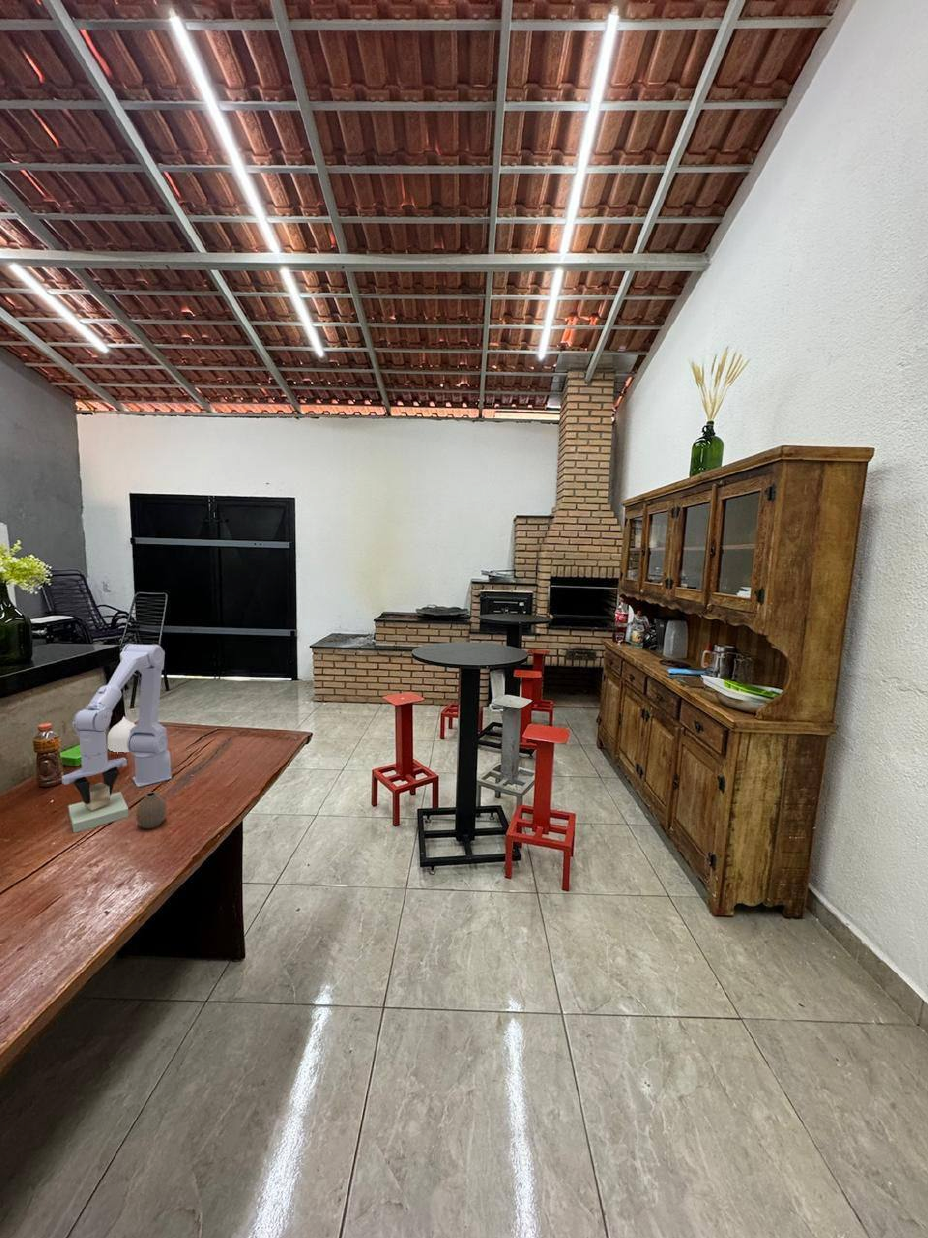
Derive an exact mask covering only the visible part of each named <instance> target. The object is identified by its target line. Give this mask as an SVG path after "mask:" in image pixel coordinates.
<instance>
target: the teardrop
mask: <svg viewBox="0 0 928 1238" xmlns="http://www.w3.org/2000/svg"><path fill="white" fill-rule="evenodd" d="M135 724H136V723H134V722H132V721H130V720H129V719H127V718H126V717H125V716H123V717H122V719H121V720H120V721H118V722H117V723H116V724H115V725H113V726H112V727H111V729H110V730H109V732H108V734H107V736H106V739H107V750H108V749H109V750H110V751H113V752H117V753H116V754H119V753H118V752H124V753H128V752H129V753H131V752H130V751H129V750H128V748H127V740H128V738H129V735H130V730H131V729H132V728H133V727H135V726H136V725H137V724H136V725H135Z"/></svg>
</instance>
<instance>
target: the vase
mask: <svg viewBox="0 0 928 1238" xmlns="http://www.w3.org/2000/svg"><path fill="white" fill-rule="evenodd" d="M167 811H168V810H167V804H166V802H165V800H164V799H162V798H161V797H160V796H159V795H157V793H156V792H153V791H152V792H148V793H146V794H145V795H144V798H143V799H141V802H140V803H139V804H138V806H137V809H136V812H135V813H136V815H135V817H136V820H137V823H138V825H139V826H141V827H142V828H144V829H154V828H156V827H159V826H160V825H161V824H162V823H163V822H164V821H165V819H166V816H167Z"/></svg>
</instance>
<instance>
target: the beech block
mask: <svg viewBox="0 0 928 1238" xmlns="http://www.w3.org/2000/svg"><path fill="white" fill-rule="evenodd" d="M89 796H90V803H89V804H86V803H84V806H86V807H87V808H89V809H90V810H94V809H97V808H100V807H102V806H105V805H108V804H110V790H109V786H107V785H106V784H104V782H103V781H101V782H98V783H95V784H93V785H90V787H89Z"/></svg>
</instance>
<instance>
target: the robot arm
mask: <svg viewBox="0 0 928 1238" xmlns="http://www.w3.org/2000/svg"><path fill="white" fill-rule="evenodd" d="M165 655H166V652H165V650H164V649H163V648H162V646H160V645H159V644H154V645H151V644H133V643H127V644H126V645H125V646H124V647H122V651H121V652H120V653H119V660H120V663H119V664H118V666H117V667H116V669H115V670H114V673H113V674H112V676H111V678H110V679H109V682H108V683H107V684H106V685H102V686H100V687H99V689H98V690H97V691H96V693H95V694H94V695H93V697H92V699H91V700H90V701H89V703H88V704H87V706H86V707H85V708H82V709H81V710H80V711H77V713H76V714H74V717H73V722H72V723H71V725H72V728H73V730H75V731H76V736H77V738H79V747H80V757H81V758H80V759H81V767H80V768H79V769H76V770H74V771H72V772H70V773H67V774H65V775H61V784H63V785H64V786H68V785H70V783H73V785H74V786H75V787H76V788H77V791H78V792H79V794H80V795H81V798H82V802H84V803H86V804H89V803H90V796H89V787H90V786H91V782H90V781H88V778H89V777H91V776H95V775H98V774H102V777H103V783H104V784H106V785H107V786H109V790H110V796H111V794H113V790H114V789H113V788H114V785H115V782H116V780H117V778H118V777H119V775H120V770H119V769H118V768H119V767H120V768H121V767H125V766H126V767H127V766H128V765H127V758H125V757H120V758H116V759H115V758H114V759H110V760H109V758H108V756H109V755H108V741H107V730H106V729H107V728H108V727H109V726H110V724H111V720H112V716H113V710H114V709H115V707H116V705H117V704H118V703H119V701H120V700H121V698H122V696H123V694H122V691H121V690H122V689H123V687H124V686H125V685H126V684H127V682H128V681H129V680H130V679H131V677H132V676H133V675H134V673H135V672H136V671H138V672H139V673H140V674H141V683H140V697H139V707H138V708H139V709H138V722H137V724H136V726H135V727H133V728H132V729H131V730H130V735H129V738H128V740H127V748H128V750H129V751H130V752H129V753H131V755H132V756H134V767H135V768H134V770H135V776H133V777H132V780H133V781H134V784H135V785H136V787H137V788H141V787H145V786H148V785H153V784H157V783H160V782H164V781H168V780H172V778H173V776H172V760H171V754H170V751H169V749H168V748H167V746H168V741H169V740H168V736H167V728H166V727H165V726H164V725H162V724H161V723H160V722H159V712H160V699H161V687H162V685H161V684H162V671H163V670H164V667H165Z"/></svg>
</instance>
